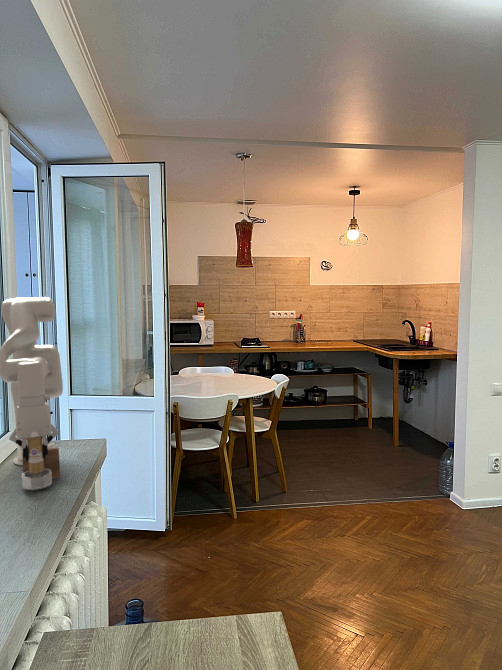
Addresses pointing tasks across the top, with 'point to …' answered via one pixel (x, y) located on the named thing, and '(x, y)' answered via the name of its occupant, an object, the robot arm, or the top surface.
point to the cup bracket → (36, 479)
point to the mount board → (48, 462)
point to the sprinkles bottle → (35, 453)
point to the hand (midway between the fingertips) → (35, 457)
